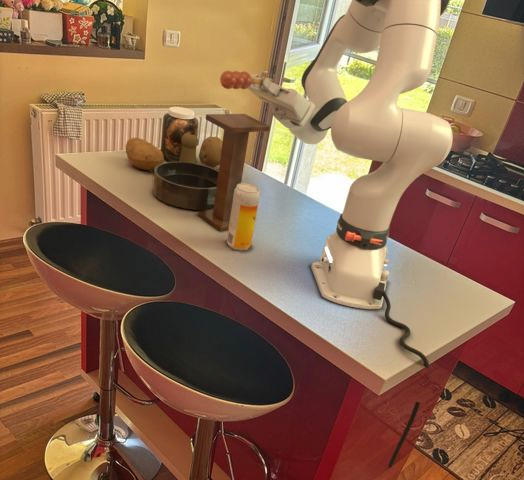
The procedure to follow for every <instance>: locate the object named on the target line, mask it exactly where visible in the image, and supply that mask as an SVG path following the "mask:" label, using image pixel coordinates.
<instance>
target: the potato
mask: <svg viewBox="0 0 524 480" xmlns="http://www.w3.org/2000/svg"><path fill="white" fill-rule="evenodd" d="M125 153H126V154H125V155H126V157H127V159H128V161H129V162H130V163H131V164H132V165H133V166H135V167H136V168H138V169H139V170H143V171H151V172H154V169H155V167H156V166H157V165H159V164H162V163H164V161H165V160H164V156H163V153H162V151H161V149H159V148H158V147H157V146H155V145H154V144H152V143H151V142H150V141H147V140H145V139H143V138H139V137H131V138H129V139H128V140H126V144H125Z"/></svg>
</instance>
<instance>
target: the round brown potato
mask: <svg viewBox="0 0 524 480" xmlns="http://www.w3.org/2000/svg"><path fill="white" fill-rule="evenodd" d="M222 142H223V139H221V138H220V137H218V136H208V137H206V138H204V140H203V141H202V143H201V146H200V149H199V152H198V160H199V161H200V163H202V165H205V166H208V167H211V168H214V169H215V168H216V167H219V165H220V157H221V150H222Z"/></svg>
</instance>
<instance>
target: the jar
mask: <svg viewBox="0 0 524 480" xmlns="http://www.w3.org/2000/svg"><path fill="white" fill-rule="evenodd" d="M195 113H196V112H195V111H194V110H192V109H190V108H187V107H183V106H171V107H169V108H168V112H167V113H164V115H163V117H162V126H161V140H160V141H161V142H160V150H161V151H162V153H163V156H164V160H163V161H166V162H179V159H180V155H181V150H182V146H183V145H182V142H181V138H182V136H183V135H184V134H192V135H195V136H196V137H197V138H198V139H199V137H198V136H199V123H200V122H199V119H198V118H197V117H195Z"/></svg>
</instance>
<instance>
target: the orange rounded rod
mask: <svg viewBox="0 0 524 480" xmlns="http://www.w3.org/2000/svg"><path fill="white" fill-rule="evenodd" d="M266 78H267V79H269V80H270V81H271V82H272V83H273V78H270V77H266ZM262 79H263V77H262V78H258V77H251V74H250V73H249V72H248V71H243V70H242V71H238V70H233V71H231V70H225V71H223V72H222V73H221V75H220V77H219V82H220V85H221V86H222V87H223V88H224V89H227V90H231V89H233V90H239V89H241V90H248V88H249V87H250V86H251V84H261V80H262Z"/></svg>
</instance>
